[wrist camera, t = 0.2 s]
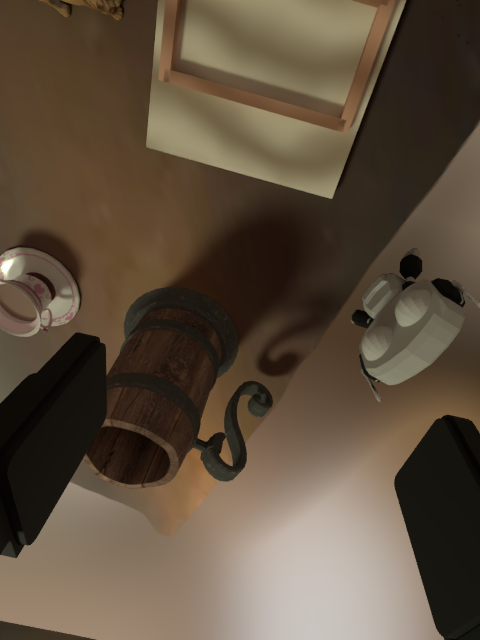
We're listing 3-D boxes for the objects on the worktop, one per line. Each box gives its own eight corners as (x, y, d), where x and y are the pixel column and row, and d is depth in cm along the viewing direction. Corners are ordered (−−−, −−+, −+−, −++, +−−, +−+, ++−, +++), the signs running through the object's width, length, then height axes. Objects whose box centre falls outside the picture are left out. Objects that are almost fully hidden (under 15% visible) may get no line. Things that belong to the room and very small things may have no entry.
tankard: (110, 354, 53) (26, 470, 36) (145, 264, 44) (58, 361, 27) (244, 416, 56) (226, 547, 39) (301, 344, 48) (310, 473, 31)
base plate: (180, -181, 25) (169, -211, 23) (440, -101, 26) (455, -122, 23) (151, 145, 37) (142, 148, 34) (330, 196, 37) (333, 201, 35)
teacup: (-18, 283, 49) (-54, 303, 43) (21, 227, 43) (-15, 243, 38) (54, 337, 52) (28, 363, 47) (97, 292, 47) (74, 315, 42)
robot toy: (398, 229, 38) (454, 288, 26) (429, 250, 39) (499, 317, 26) (330, 310, 44) (347, 389, 32) (358, 326, 45) (386, 410, 32)
